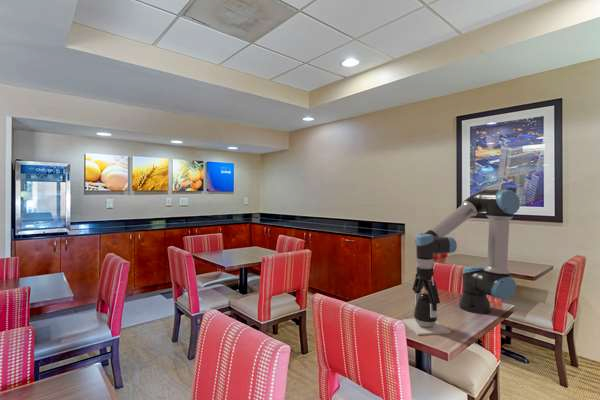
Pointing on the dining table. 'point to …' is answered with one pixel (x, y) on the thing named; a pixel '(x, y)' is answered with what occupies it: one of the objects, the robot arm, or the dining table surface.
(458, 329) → the dining table surface
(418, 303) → the pump dispenser
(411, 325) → the ceramic tile
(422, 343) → the dining table surface
